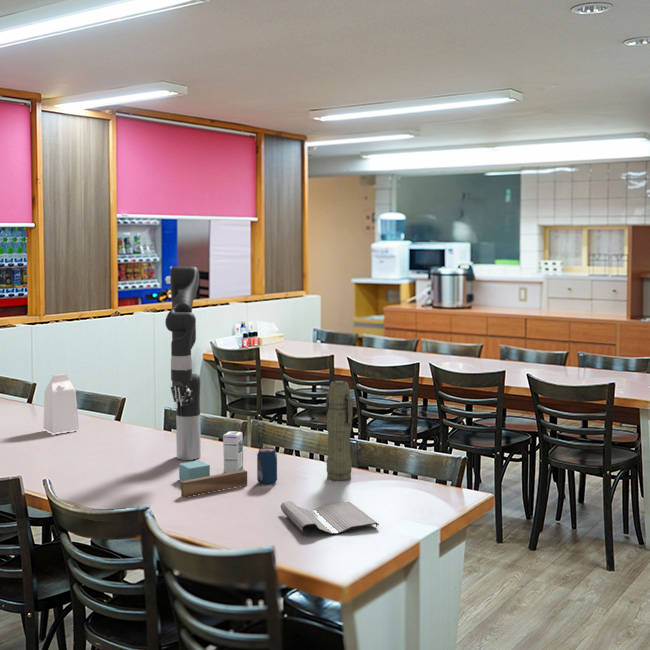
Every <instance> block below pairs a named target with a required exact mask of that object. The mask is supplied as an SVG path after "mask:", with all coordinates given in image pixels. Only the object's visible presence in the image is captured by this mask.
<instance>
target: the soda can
mask: <svg viewBox="0 0 650 650" xmlns="http://www.w3.org/2000/svg"><path fill="white" fill-rule="evenodd" d="M256 456H257V457H256V459H257V460H256V462H257V463H256V468H257V469H256V471H257V473H256V480H257V483H258V484H259V485H261V486H273V485H275V484H276V482H277V481H278V454H277V451H276V449H275V448H273V447H262V448H259V449H258V452H257V454H256Z"/></svg>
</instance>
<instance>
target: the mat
mask: <svg viewBox="0 0 650 650" xmlns="http://www.w3.org/2000/svg"><path fill="white" fill-rule="evenodd" d="M280 509H281V511H282V513H283V514H284V515H285V516H286V518H288V519H289V520H290V521H291V522H292V523H293V524H294V525H295V526H296V527H297V528H298V530H299V531H301V532H302V534H303V535H305V532H304V528H305V527H307V526H312V527H315V528H316V529H317V530H320V531H323V532H325V533H327V534H332V535H333V533H332V532H331V531H330V530H329V529H327V527H325V526H324V525H323V524H322V523H321V522H320V521H319V520H318V519H317V518H316V517H317V516H316V515H315V514H314V513H313V512H312V513H313V514H314V515H315V516H316V517H315V516H314V515H313V514H312V513H310V512H311V511H310V510H308V509H306V508H303V507H300V506H297V504H296V503H294V502H293V501H290V500H289V501H283V502H282V503H281V504H280ZM313 510H316V511H317V513H319V515H320V516H322V517H323V518H324V519H325V520H326V522H328V523H329V524H330V525H332V527H333V528H335V529H336V530H337V531H338V533H340V532H342V533H344V532H346V531H349V530H351V529H354V528H362V527H367V526H373V525H375V528H376V527H379V525H380V524H379V523H378V522H377V521H375V520H374V519H373V518H372V517H370V516H369V515H368V514H366V513H365V512H364V511H362V510H361V509H360V508H358V507H357V505H355V504H353V503H352V502H351V501H342V502H334V503H333V502H332V503H326V504H323V505H321V506H319V507H317V508H315V509H313ZM309 511H310V512H309ZM340 534H341V533H340Z"/></svg>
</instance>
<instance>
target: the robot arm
mask: <svg viewBox="0 0 650 650" xmlns="http://www.w3.org/2000/svg"><path fill="white" fill-rule="evenodd" d="M169 273H170V274H169V276H170V277H169V278H170V280H169V281H170V293H171V307H172V308H170V310H169V311H168V313H167V315H166V317H165V321H164V322H165V327H166V329H167V330H168V331H169V332H171V337H172V338H171V343H170V350H171V351H170V352H171V353H170V354H171V355H170V356H171V358H170V380H171V387H170V391H171V395H172V398H173V402H174V403H175V404H176V405H177V408H176V410H175V414H176V416H175V418H176V436H175V439H176V459H177V460H180V459H181V460H180V461H194V460H193V459H195V460H197V458H198V459H200V458H201V456H202V455H201V447H202V445H201V443H202V441H201V402H200V401H201V377H200V375H199V374H198V373H193V359H192V349H193V347H194V345H195V344H196V340H197V325H196V323H197V320H196V316H195V314H194V313H193V304H194V299H195V297H196V294H197V291H198V289H199V285H200V272H199V269H198V267H196V266H182V265H181V266H172V268H170V272H169Z"/></svg>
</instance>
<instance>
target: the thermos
mask: <svg viewBox="0 0 650 650" xmlns="http://www.w3.org/2000/svg"><path fill="white" fill-rule="evenodd" d="M350 389H351V388H350V386H349V383H348V382H347V381H346V380H338V379H337V380H333V381H331V382H330V384H329V388H328V393H327V394H326V397H325V404H326V405H325V406H326V409H325V410H326V411H325V412H326V416H325V419H326V431H327V439H328V440H327V453H328V454H327V455H328V456H327V458H326V475H327V476H326V479H327V480H329V481H330V480H331V482H336V481H342V482H347V481H346V480H348V481H350V480H351V479H352V467H353V466H352V465H353V462H352V458H351V432H352V426H353V418H354V417H353V415H354V413H353V407H354V406H353V405H354V404H353V398H352V396H351V394H350V393H351V390H350ZM349 479H350V480H349Z"/></svg>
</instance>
